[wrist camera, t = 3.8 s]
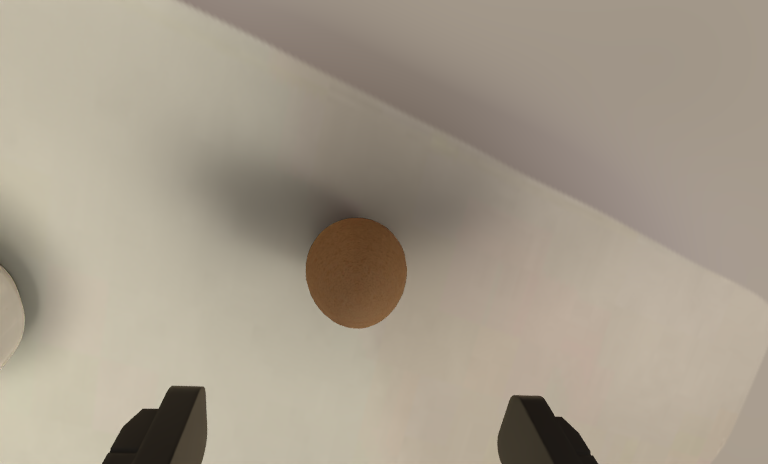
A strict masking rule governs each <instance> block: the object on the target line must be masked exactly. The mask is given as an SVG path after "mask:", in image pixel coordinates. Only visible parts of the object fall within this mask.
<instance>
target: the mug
mask: <svg viewBox="0 0 768 464" xmlns="http://www.w3.org/2000/svg"><path fill="white" fill-rule="evenodd" d="M24 327H25V315H24V310H23V305H22V302H21V299H20V295H19V292H18V289H17V287H16V285H15V283H14V281H13V279H12V277H11V276H10V275H9V273H8V272H7V271H6V270H5V269H4V268H3V267H2V266H1V265H0V370H1V368H2V367H3V366H4V365H5V363H6V362H7V361H8V359H9V358H10V357H11V356H12V354H13V353H14V352H15V350H16V349H17V347H18V345H19V343H20V341H21V339H22V336H23V332H24Z"/></svg>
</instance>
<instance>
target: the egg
mask: <svg viewBox="0 0 768 464" xmlns="http://www.w3.org/2000/svg"><path fill="white" fill-rule="evenodd" d="M406 276H407V266H406V260H405V254H404V251H403V249H402V246H401V245H400V243H399V242H398V240H397V239H396V237H395V236H394V235H393V234H392V233H391V232H390V231H389V230H388V229H387V228H386V227H385V226H383V225H381V224H380V223H378V222H375V221H373V220H369V219H364V218H349V219H344V220H340V221H338V222H335V223H333V224H331V225H330V226H328V227H327V228H325V229H324V230H323V231H322V232H321V233H320V234H319V235H318V237H317V238H316V239H315V241H314V242H313V244H312V246H311V248H310V250H309V253H308V256H307V261H306V280H307V284H308V287H309V291H310V294H311V296H312V298H313V300H314V302H315V303H316V305H317V306H318V307H319V309H320V310H321V311H322V312H323V313H324V314H325V315H326V316H327V317H329V318H330V319H331V320H332V321H334V322H336V323H337V324H339V325H342V326H345V327H349V328H366V327H370V326H372V325H375V324H377V323H378V322H380V321H382V320H383V319H384V318H386V317H387V316H388V315H389V314H390V313H391V312H392V310H393V309H394V308H395V307H396V305H397V303H398V302H399V300H400V298H401V296H402V294H403V291H404V287H405V283H406Z"/></svg>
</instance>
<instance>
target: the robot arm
mask: <svg viewBox="0 0 768 464" xmlns="http://www.w3.org/2000/svg"><path fill="white" fill-rule="evenodd" d="M206 441H207V414H206V393H205V388H204V387H197V386H171V387H170V388H169V389H168V391H167V393H166V395H165V397H164V399H163V401H162V403H161V405H160V407H159V409H142V410H141V411H140V412H139V413H138V414H137V415H135V416H134V417H133V418H132V419H131V420H130V421H129V422H128V423H127V424H126V425H124V426H123V428H122V429H121V431H120V433H119V435H118V436H117V438H116V440H115V442H114V444H113V445H112V447H111V450H110V453H108V454H107V456H106V458H105V459H104V461H103V463H102V464H201V462H202V459H203V456H204V452H205V447H206ZM497 443H498V453H499V458H500V461H501V463H502V464H598V463H597V461H596V460H595V458H594V457H593V456H591V454H590V450H589V449H588V447H587V445H586V444H585V442H584V441H583V439H582V437H581V436H580V434H579V433H578V432H577V431H576V430H575V429H574V428H573V427H572V426H571V425H570V424H569V423H568V422H566V421H565V420H564V419H563V418H562V417H555V416H554V414H553V412H552V411H551V409H550V407H549V406H548V404H547V402H546V401H545V399H544V398H543V397H541V396H523V395H514V396H512V397H511V398H510V401H509V403H508V407H507V410H506V413H505V416H504V419H503V422H502V425H501V428H500V431H499V434H498V442H497Z"/></svg>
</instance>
